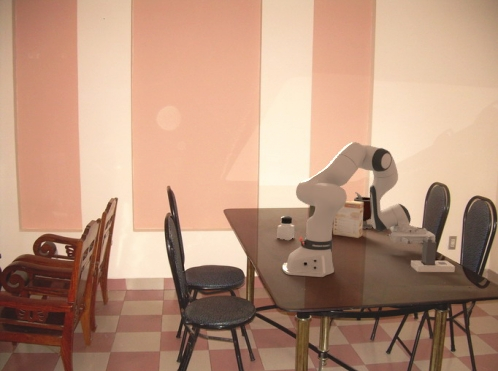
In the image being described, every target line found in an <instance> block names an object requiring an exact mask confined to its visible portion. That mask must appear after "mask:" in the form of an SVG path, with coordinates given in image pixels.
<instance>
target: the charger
mask: <svg viewBox="0 0 498 371" xmlns="http://www.w3.org/2000/svg"><path fill="white" fill-rule="evenodd" d="M421 250H422V252H421V261H422V264H424V265H435V261H436V257H437V256H436V254H437V242H436V240H435V241H433V240H432V236H428V240H423V243H422V249H421Z"/></svg>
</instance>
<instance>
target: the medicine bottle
mask: <svg viewBox="0 0 498 371" xmlns="http://www.w3.org/2000/svg"><path fill="white" fill-rule="evenodd" d="M295 228H296V227H295V224H293V217H291V216H288V215H284V216H281V217H280V224H279V225H277V230H276V232H277V234H276V238H280V239H279V240H283V239H285V240H284V241H291V240H292V238H293V239H295V230H296V229H295Z"/></svg>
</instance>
